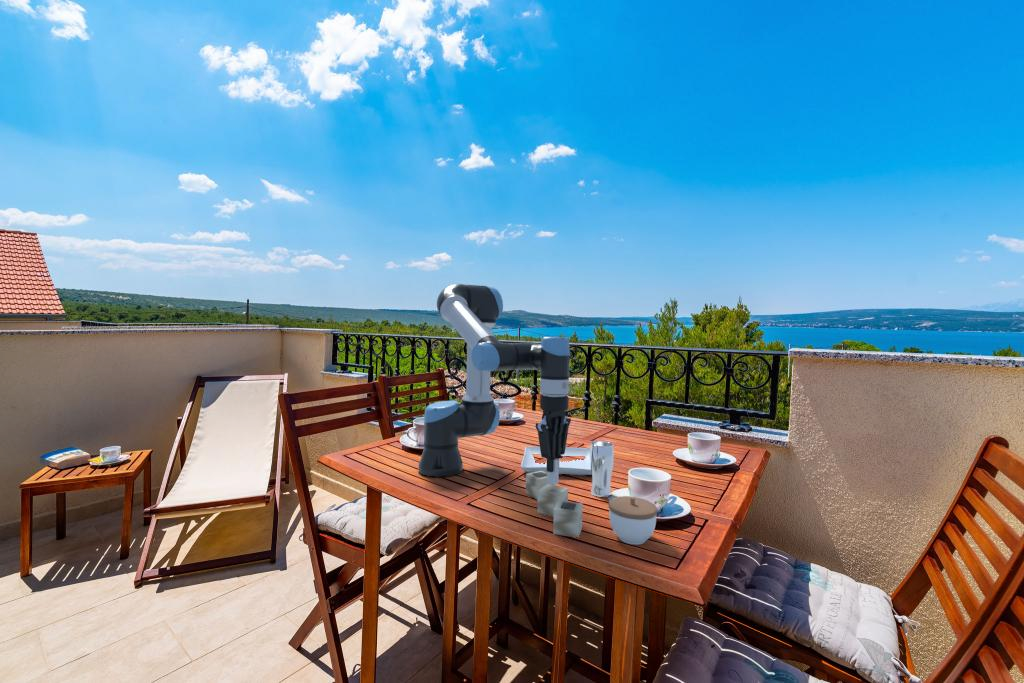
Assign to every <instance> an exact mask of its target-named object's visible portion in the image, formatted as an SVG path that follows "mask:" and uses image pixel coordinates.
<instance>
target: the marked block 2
mask: <svg viewBox="0 0 1024 683" xmlns="http://www.w3.org/2000/svg"><path fill="white" fill-rule="evenodd" d="M583 505H584V504H583V503H582V502H574V501H569V500H568V501H561V500H558V502H557V504H556V506H555V508H554V517H552V518H553V523H552V525H553V532H552V534H553V535H558V536H563V537H564V536H565V537H570V536H572V537H571V538H576V537H578V539H579V538H580V536H579V535H581V533H582V528H583Z"/></svg>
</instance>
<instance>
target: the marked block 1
mask: <svg viewBox="0 0 1024 683" xmlns="http://www.w3.org/2000/svg"><path fill="white" fill-rule="evenodd" d="M547 484H551V483H548V482H547V473H546V472H544V471H537V472H532V473H530V472H526V473H525V494H527V495H528V494H529V495H528V496H530V497H531V498H533V497H534V499H535V500H537V501H538V490H539V489H541V488H542V487H544V486H545V485H547ZM552 485H554V484H552Z"/></svg>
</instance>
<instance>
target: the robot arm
mask: <svg viewBox="0 0 1024 683" xmlns="http://www.w3.org/2000/svg"><path fill="white" fill-rule="evenodd" d="M436 308H437V312H438V314H439V315H440V317H441V318H442V319H443V320H444V321H446V322H448V323H450V324H451V325H452V327H453V328H454V329H455V330H456V331H457V333H458V334H459V335H460V337H461V338H462V339H463V340H464V342H466V345H467V347H466V353H467V354H466V378H465V379H466V383H465V384H466V385H465V386H466V387H465V388H466V389H465V394H464V395H463V396H462V397H461V404H459V401H457V400H442V401H436V402H432V403H431V404H427V406H426V407H425V410H424V417H423V423H424V424H423V426H424V427H423V451H422V454H421V457H420V461H419V462H418V470H419V471H418V473H419V472H420V473H421V474H420V473H419V474H420V475H422V474H424V475H427V476H426V477H429V476H435V477H434V478H442V477H441V476H447V477H451V476H450V475H453V476H456V475H458V473H459V474H460V473H462V472H463V470H464V462H463V460H462V455H461V453H460V449H459V439H462V438H471V437H478V436H480V437H481V436H482V437H484V436H485V435H491V434H493V433H494V432H495V430H497V428H498V426H499V424H500V418H501V416H500V415H501V414H500V410H499V408H500V407H499V405H498V404H497V402H495V400H494V397H493V396H492V395H491V372H497V371H525V370H526V371H527V370H534V371H535V370H536V371H540V379H539V380H540V383H539V384H540V386H539V387H540V388H539V392H540V394H541V395H540V396H539V399H540V400H539V409H541V410H542V416H541V421H540V422H537V423H536V424H535V425H534V426H535V429H536V431H537V435H538V442H539V443H538V444H539V447H540V451H541V457H543V458H546V459H547V482H548V483H551V484H554V485H556V486H557V485H558V484H559V478H560V477H559V475H560V474H559V458H560V459H562V458H563V456H561V455H562V454H564V453H565V448H566V447H567V440H568V434H569V433H568V432H569V427H570V424H571V421H572V419H571V417H567V414H566V411H568V409H569V401H570V400H569V396H568V395H569V393H570V392H569V390H570V389H569V387H570V386H569V380H570V379H569V378H570V356H571V355H570V354H571V351H570V340H569V338H568V337H566V336H543V337H542V338H541V340H540V342H541V343H539V342H537V343H535V342H501V341H500V340H499V338H497V337H496V336H495V335H494V333H492V332H493V331H492V329H493V327H494V326H496V324H497V320H498V319H500V317H501V316H502V313H503V312H504V311H503V310H504V302H503V297H502V294H501V293H500V291H499V290H498V289H497V288H495V287H492V286H487V285H476V284H474V285H473V284H464V283H453V284H450V285H448V286H446V287H445V288H444V289H442V290H441V291H440V293H439V295H438V297H437V300H436ZM461 471H462V472H461ZM455 474H456V475H455ZM424 475H423V476H424Z"/></svg>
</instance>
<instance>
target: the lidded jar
mask: <svg viewBox="0 0 1024 683" xmlns="http://www.w3.org/2000/svg"><path fill="white" fill-rule="evenodd" d="M608 512H609V513H608V516H609V517H608V518H609V523H610V526H611V529H612V530H613V532H614V533H615V535H616V536H617V537H618V539H619V541H622V543H625V544H629V545H635V546H639V545H643V544H645V543H646V542H647V541H648V540H649V539H650V538H651V537H652V535H653V534H654V531H655V528H656V524H657V513H658V508H657V506H656V504H655V503H653V502H651V501H649V500H647V499H644V498H641V497H637V496H630V495H629V496H627V495H625V496H624V495H623V496H622V495H621V496H616V497H613V498H611V499H610V500H609V501H608Z"/></svg>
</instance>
